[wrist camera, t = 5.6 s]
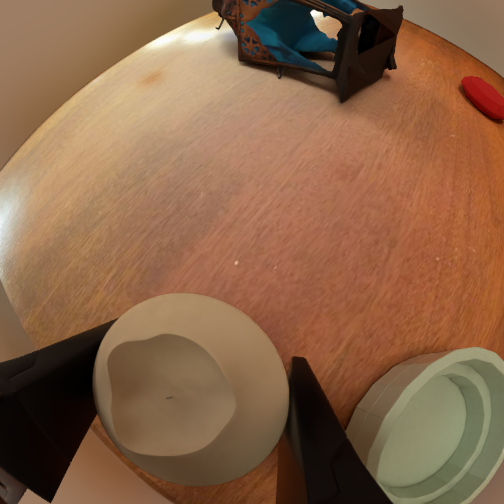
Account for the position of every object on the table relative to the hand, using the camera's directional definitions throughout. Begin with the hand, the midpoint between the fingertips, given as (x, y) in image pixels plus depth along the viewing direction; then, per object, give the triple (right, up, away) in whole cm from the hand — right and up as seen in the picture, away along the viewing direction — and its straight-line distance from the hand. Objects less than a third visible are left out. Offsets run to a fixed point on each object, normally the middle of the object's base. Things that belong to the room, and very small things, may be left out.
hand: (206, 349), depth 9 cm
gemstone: (+37, +26, +18) cm, 48 cm away
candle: (0, -4, +6) cm, 7 cm away
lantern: (+7, +28, +21) cm, 36 cm away
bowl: (+13, -9, +5) cm, 16 cm away
